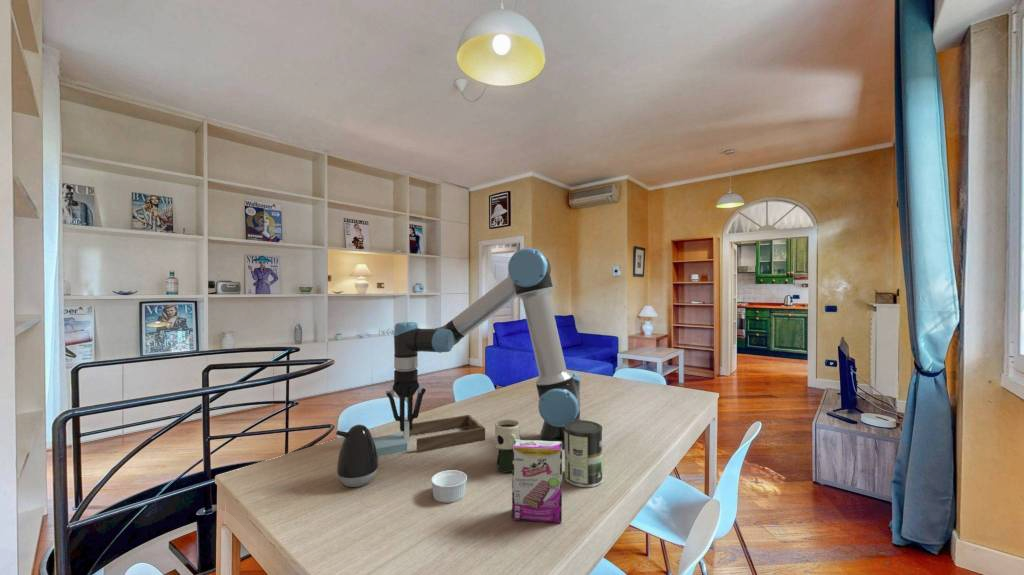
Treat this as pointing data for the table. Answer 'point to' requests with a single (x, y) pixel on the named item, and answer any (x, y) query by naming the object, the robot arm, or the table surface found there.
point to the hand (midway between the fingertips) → (406, 440)
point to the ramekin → (449, 486)
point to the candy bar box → (537, 481)
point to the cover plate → (390, 444)
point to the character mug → (506, 442)
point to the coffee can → (583, 453)
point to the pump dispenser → (357, 457)
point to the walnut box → (451, 438)
